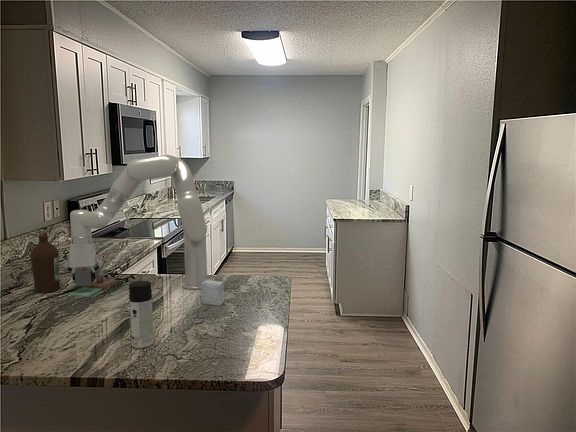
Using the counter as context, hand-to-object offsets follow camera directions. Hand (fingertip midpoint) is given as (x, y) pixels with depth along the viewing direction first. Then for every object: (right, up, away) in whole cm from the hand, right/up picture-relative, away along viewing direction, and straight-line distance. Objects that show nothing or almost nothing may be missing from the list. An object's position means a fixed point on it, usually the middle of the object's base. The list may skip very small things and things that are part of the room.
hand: (84, 281), depth 184 cm
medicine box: (+56, -8, -10) cm, 57 cm away
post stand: (+2, -3, +12) cm, 12 cm away
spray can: (+40, -13, -46) cm, 62 cm away
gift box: (0, -1, 0) cm, 1 cm away
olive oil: (-18, -5, +4) cm, 19 cm away
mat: (0, -5, +1) cm, 5 cm away
